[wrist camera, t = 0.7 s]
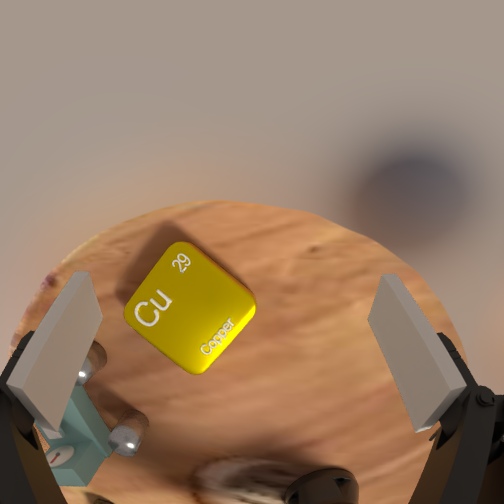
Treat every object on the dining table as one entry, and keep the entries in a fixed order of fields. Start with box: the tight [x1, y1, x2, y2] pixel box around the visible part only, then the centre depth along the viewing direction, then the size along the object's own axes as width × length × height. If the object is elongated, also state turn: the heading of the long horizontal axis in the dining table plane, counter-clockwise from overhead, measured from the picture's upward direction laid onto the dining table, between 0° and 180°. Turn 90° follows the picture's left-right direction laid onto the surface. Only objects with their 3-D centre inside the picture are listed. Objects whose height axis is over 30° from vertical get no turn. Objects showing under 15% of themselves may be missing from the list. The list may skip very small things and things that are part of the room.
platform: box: [41, 426, 65, 439], centre depth 38 cm, size 9×4×3 cm, turn 22°
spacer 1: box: [74, 341, 107, 386], centre depth 41 cm, size 5×5×8 cm
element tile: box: [124, 241, 257, 375], centre depth 43 cm, size 15×15×5 cm
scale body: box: [34, 385, 113, 486], centre depth 38 cm, size 15×14×14 cm
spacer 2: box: [108, 410, 149, 457], centre depth 41 cm, size 5×5×8 cm
